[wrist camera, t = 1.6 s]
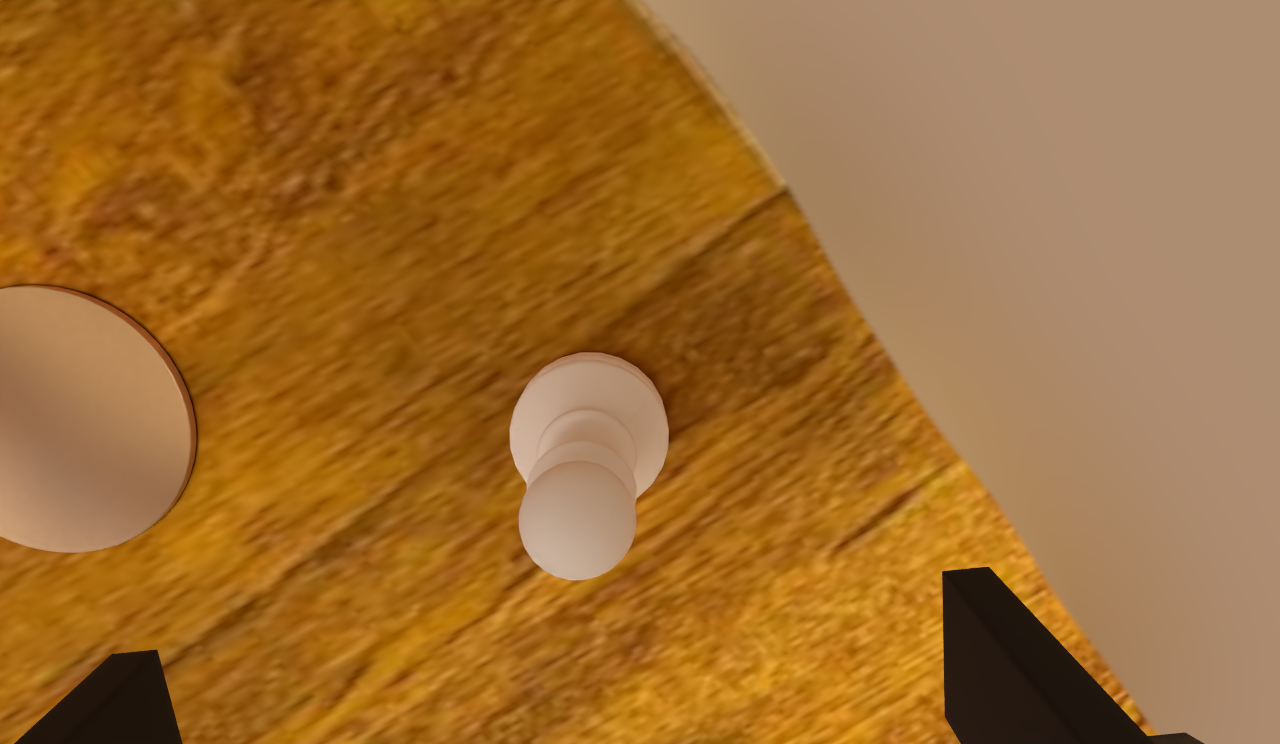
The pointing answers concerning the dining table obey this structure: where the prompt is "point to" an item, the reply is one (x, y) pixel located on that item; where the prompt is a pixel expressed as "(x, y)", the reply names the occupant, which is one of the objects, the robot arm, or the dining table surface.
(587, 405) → the chess pawn
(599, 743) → the dining table surface
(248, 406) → the dining table surface
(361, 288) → the dining table surface
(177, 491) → the cork coaster
